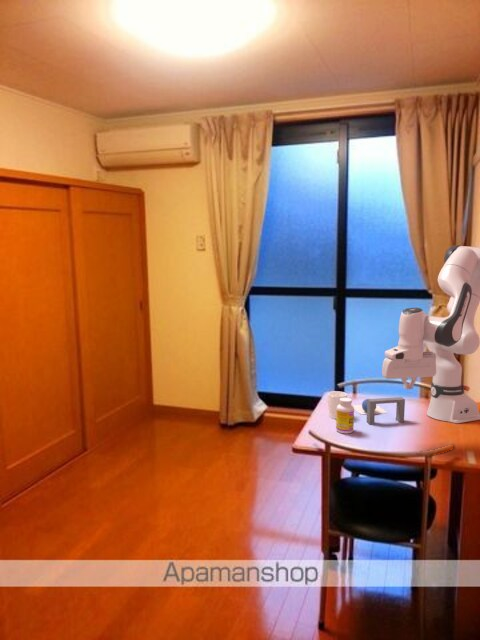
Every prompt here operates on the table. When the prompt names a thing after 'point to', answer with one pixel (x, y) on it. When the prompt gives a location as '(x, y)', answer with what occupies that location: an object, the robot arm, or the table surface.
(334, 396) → the white cup
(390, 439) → the table surface
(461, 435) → the table surface
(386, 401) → the bridge
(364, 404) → the ball
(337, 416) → the supplement bottle
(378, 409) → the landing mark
